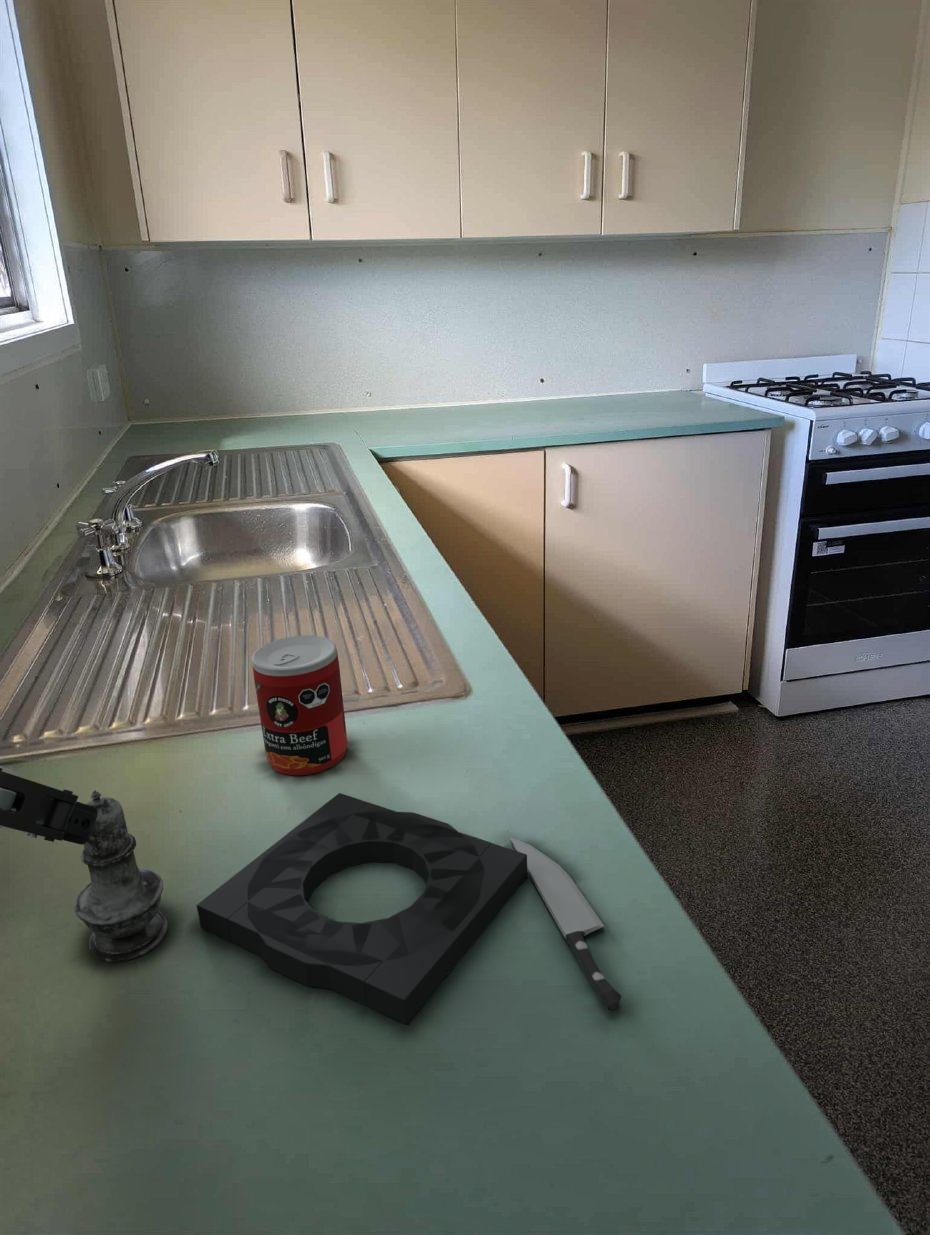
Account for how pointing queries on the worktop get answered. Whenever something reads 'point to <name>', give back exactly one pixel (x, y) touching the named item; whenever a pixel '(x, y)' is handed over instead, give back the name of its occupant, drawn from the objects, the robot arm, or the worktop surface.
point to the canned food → (300, 703)
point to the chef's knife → (569, 915)
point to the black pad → (377, 950)
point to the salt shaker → (118, 890)
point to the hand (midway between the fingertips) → (34, 813)
